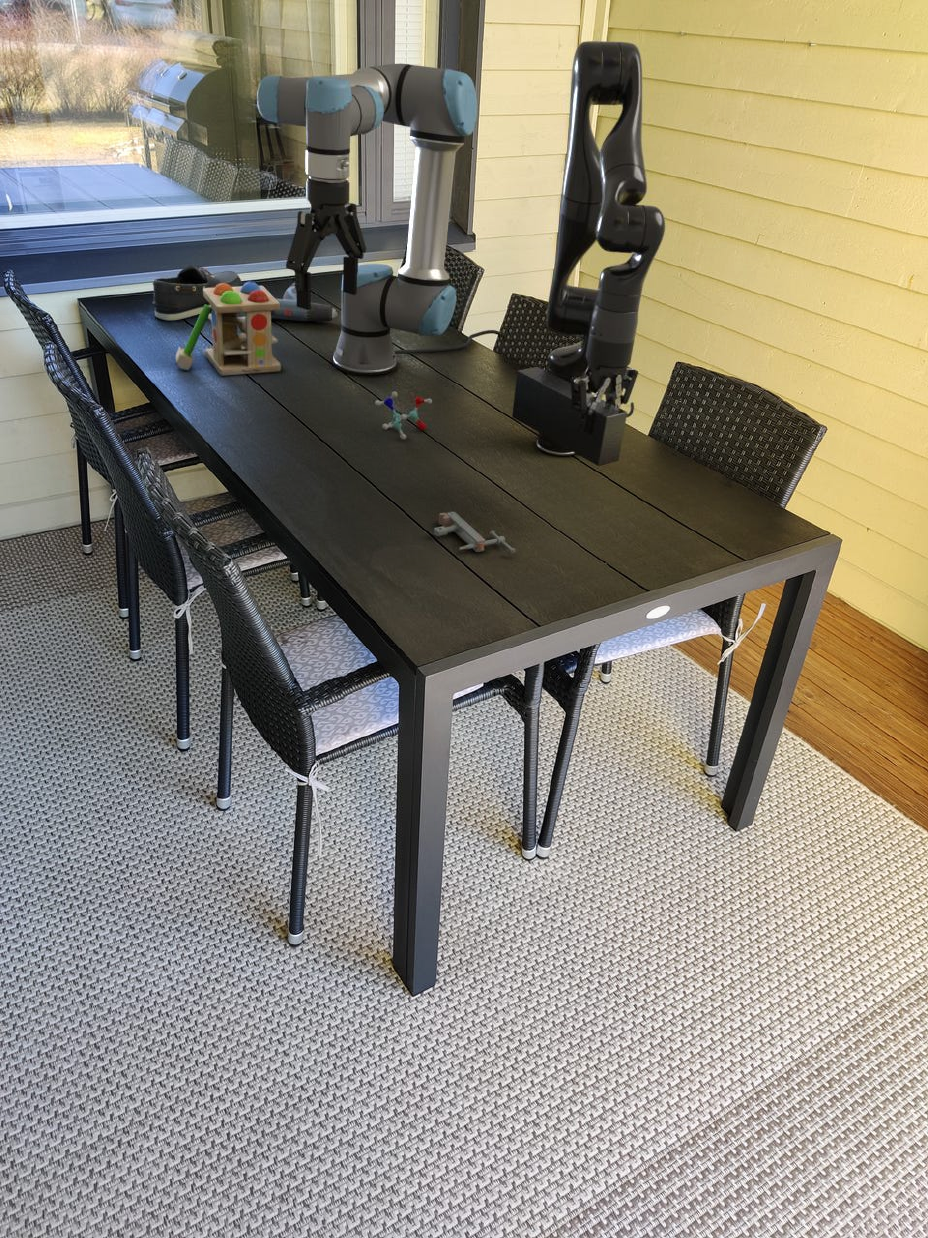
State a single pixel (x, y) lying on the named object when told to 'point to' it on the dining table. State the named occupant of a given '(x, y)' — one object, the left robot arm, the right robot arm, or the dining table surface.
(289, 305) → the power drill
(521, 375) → the bar
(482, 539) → the clamp
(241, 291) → the pounding bench toy
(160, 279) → the boat shoe
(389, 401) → the molecular model
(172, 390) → the dining table surface
